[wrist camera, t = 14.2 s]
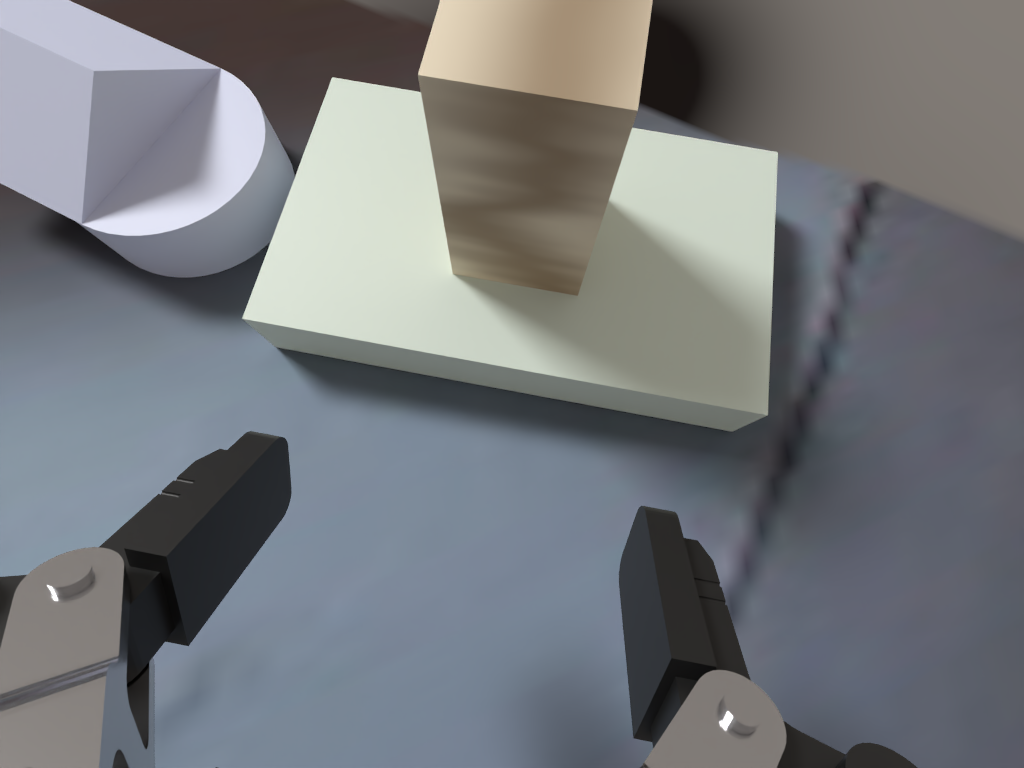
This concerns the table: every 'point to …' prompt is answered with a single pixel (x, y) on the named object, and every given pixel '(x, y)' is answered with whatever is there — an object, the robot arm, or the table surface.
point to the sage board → (523, 310)
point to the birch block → (530, 129)
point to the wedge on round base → (136, 140)
